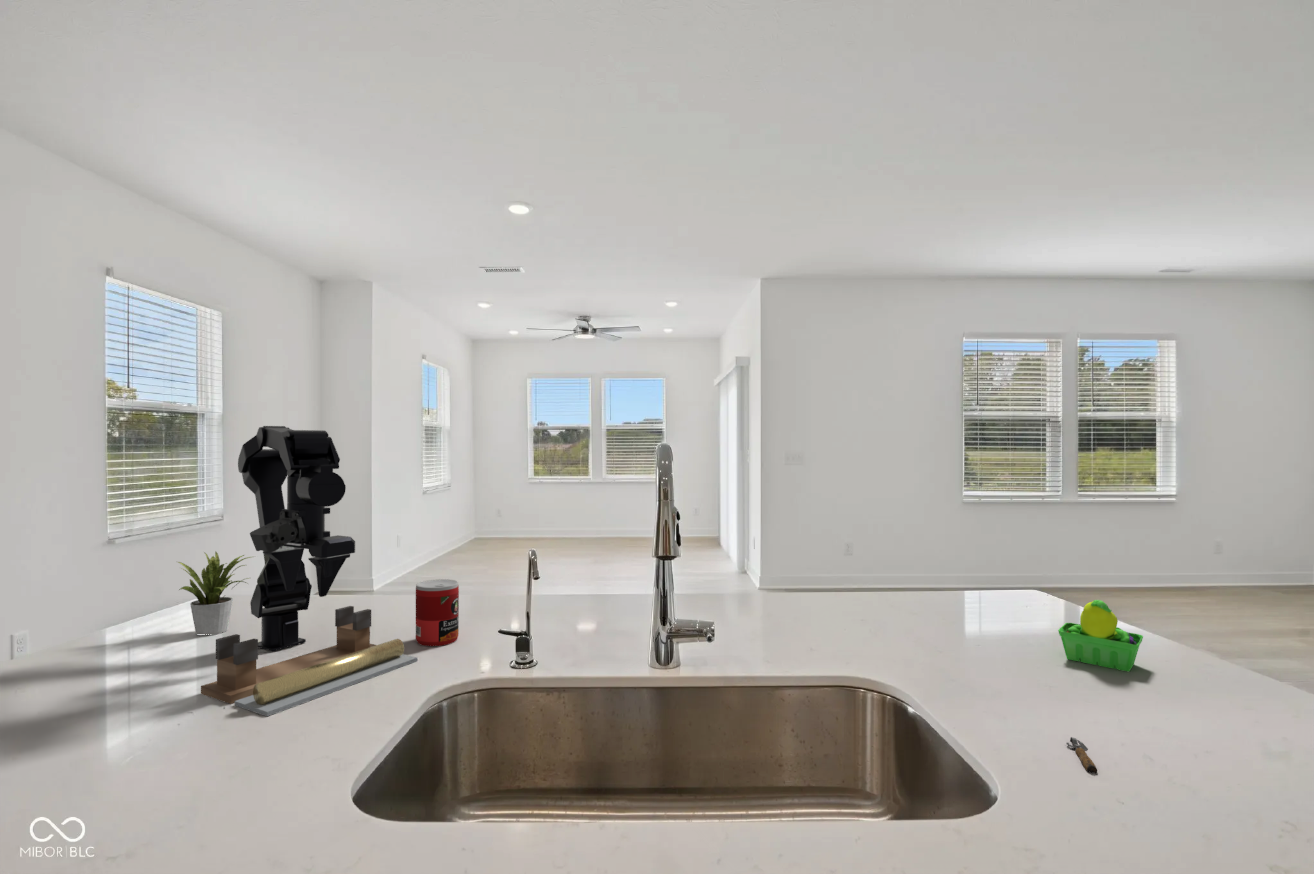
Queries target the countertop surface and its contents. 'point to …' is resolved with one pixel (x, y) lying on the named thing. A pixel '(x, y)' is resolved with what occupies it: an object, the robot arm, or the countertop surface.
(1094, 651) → the fruit basket
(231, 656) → the stand
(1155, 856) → the countertop surface
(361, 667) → the rail
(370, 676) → the mat
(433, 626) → the canned food
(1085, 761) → the can opener
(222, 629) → the house plant
